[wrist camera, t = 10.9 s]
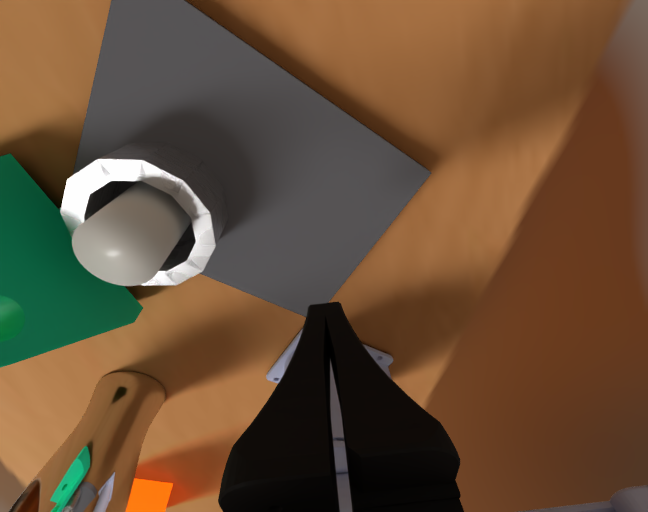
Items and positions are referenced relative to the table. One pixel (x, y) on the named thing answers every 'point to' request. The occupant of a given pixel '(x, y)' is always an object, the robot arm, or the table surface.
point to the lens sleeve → (167, 175)
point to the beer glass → (98, 450)
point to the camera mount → (47, 276)
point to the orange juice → (149, 496)
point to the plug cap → (131, 235)
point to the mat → (249, 150)
